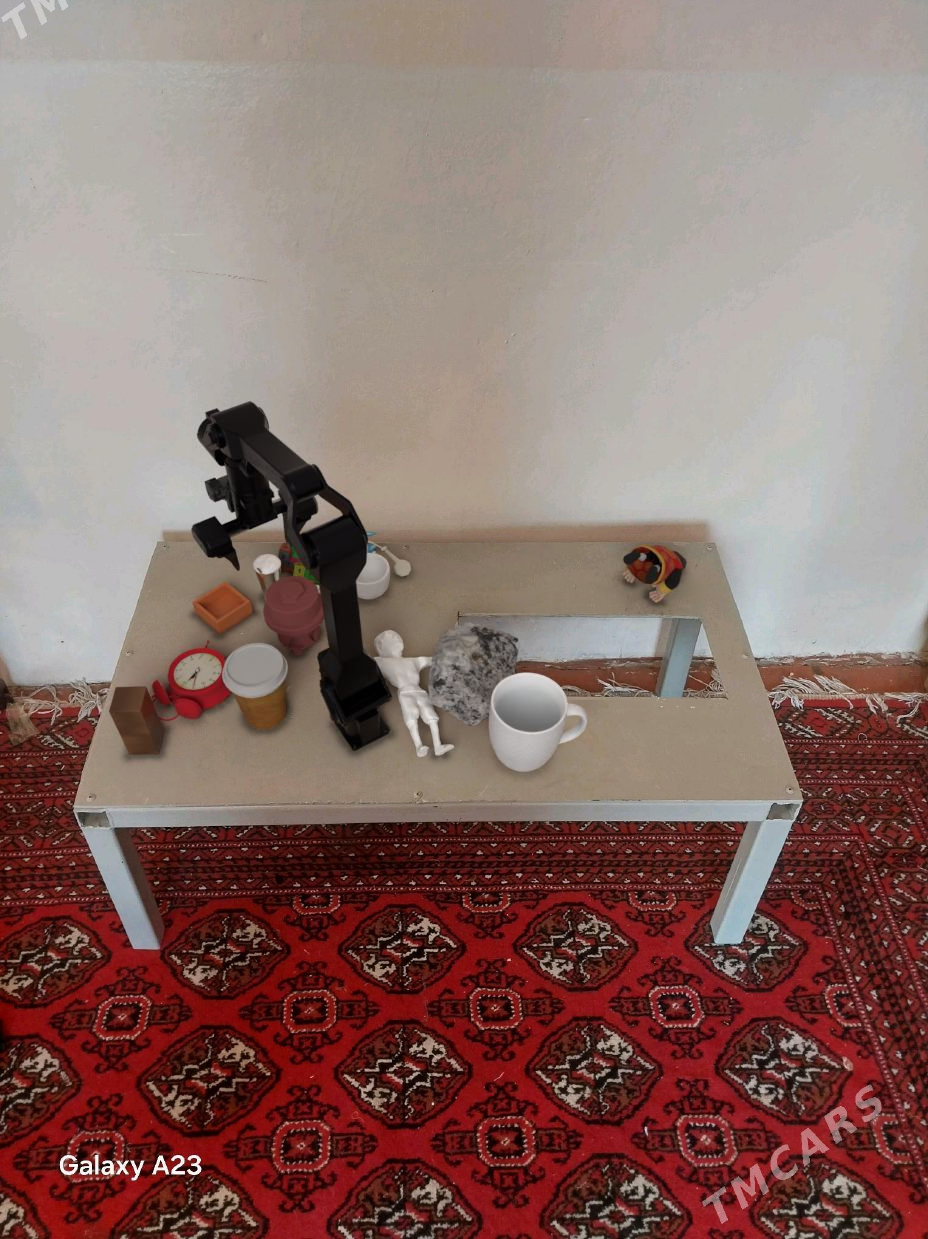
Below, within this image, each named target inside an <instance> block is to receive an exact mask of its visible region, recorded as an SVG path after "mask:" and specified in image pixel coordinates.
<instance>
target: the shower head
mask: <svg viewBox="0 0 928 1239" xmlns="http://www.w3.org/2000/svg"><path fill="white" fill-rule="evenodd" d="M335 518H336V517H335ZM335 518H332V519H331V520H333V519H335ZM368 544H370V545H375V546H377V547H376V548H379V549H380V551H381V552H384V554H386V555H387V557H389V559H390V560H391V561H392V562H393V563H394V565H393V570H394V574H395V575H397V576H399V577H405V576H409V574H410V573H411V570H412V567H411V562H409V561H407V560H406V559H400V558H398V557H397V556H396V555H395V554H393V553H392V552H391V551H390V550H389V549H388V546H387V545H384V546H381V545H379V544H377V543H375V542H373V541H371V540H368Z"/></svg>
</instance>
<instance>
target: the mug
mask: <svg viewBox="0 0 928 1239" xmlns="http://www.w3.org/2000/svg"><path fill="white" fill-rule="evenodd" d="M572 716H578V717H580V719H579V721H578V723H576V724H575V725H574V726H573V727H570V729H567V730H566V731H564V729H565V725H566V723H567V722H566V721H567V717H572ZM588 719H589V718H588V715H587V712H586V710H585V709H584V708H583V707H582V706H581V705H580V704H576V703H571V702H568V698H567V695H566V692H565V691H564V689H563V688H562V687H561V686H560V685H559V683H557V682H556V681H555V680H553V679H551V678H550V677H548V676H546V675H544V674H541V673H540V674H539V673H535V672H518V673H515V674H514V675H511V676H508V677H506V678H505V679H503V680H502V681H500V682H499V683H498V684H497V686H496V687H495V688H494V690H493V693H492V696H491V703H490V711H489V716H488V736H489V741H490V743H491V747H492V750H493V752H494V754H495V756H497V759H498V761H500V762H501V763H502V764H503V765H504V766H505V767H506V768H508V769H510V770H512V771H515V772H518V773H519V772H520V773H528V772H532V771H535V770H537V769H539V768H542V767H543V766H544V765H545V764H546V763H547V762H548V761H549V760H550V759H551V758H552V757H553V755H554V753H555V752H556V750H557V748H558V747H559V745H560V744H565V743H568V742H570V741H572V740H574V739H576V738H577V737H579V736H581V735H582V734H583V732H584V731H585V730H586V729H587V726H588V722H589V720H588Z"/></svg>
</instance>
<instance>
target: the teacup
mask: <svg viewBox="0 0 928 1239" xmlns="http://www.w3.org/2000/svg"><path fill="white" fill-rule="evenodd" d="M390 580H391V567H390V563H389V562H388V560H387V558H385V557H384V556H382V555H380V554H379V553H377V551H376V550H373V551H372V552H371V553H367V563H366V565H365V567H364V568H363V570H362V572H361V573H360V575H359V577H358V578H357V580H356V584H357V593H358V599H359V598H360V599H363V600H374V599H377V598H380V597H381V596H382V595H384V594H385V593H386V592H387V590H388V588H389V585H390Z"/></svg>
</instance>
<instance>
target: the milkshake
mask: <svg viewBox="0 0 928 1239" xmlns="http://www.w3.org/2000/svg"><path fill="white" fill-rule="evenodd" d="M253 569H254V572H255V575H256V577H257V580H258V583H259V585H260V588H261V591H262V594H263V598H264V601H265V602H266V598H265V596H266V592H267V590H268V588H269V587H270V586H271V585H272V584H273V583H274V582H276V581H277V580H279V579H282V578H283V577H282V570H281V561H280V559H279V557H278V556H277V555H275V554H271V553H265V554H261V555H258V557H256V558H255V559H254V561H253Z"/></svg>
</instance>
